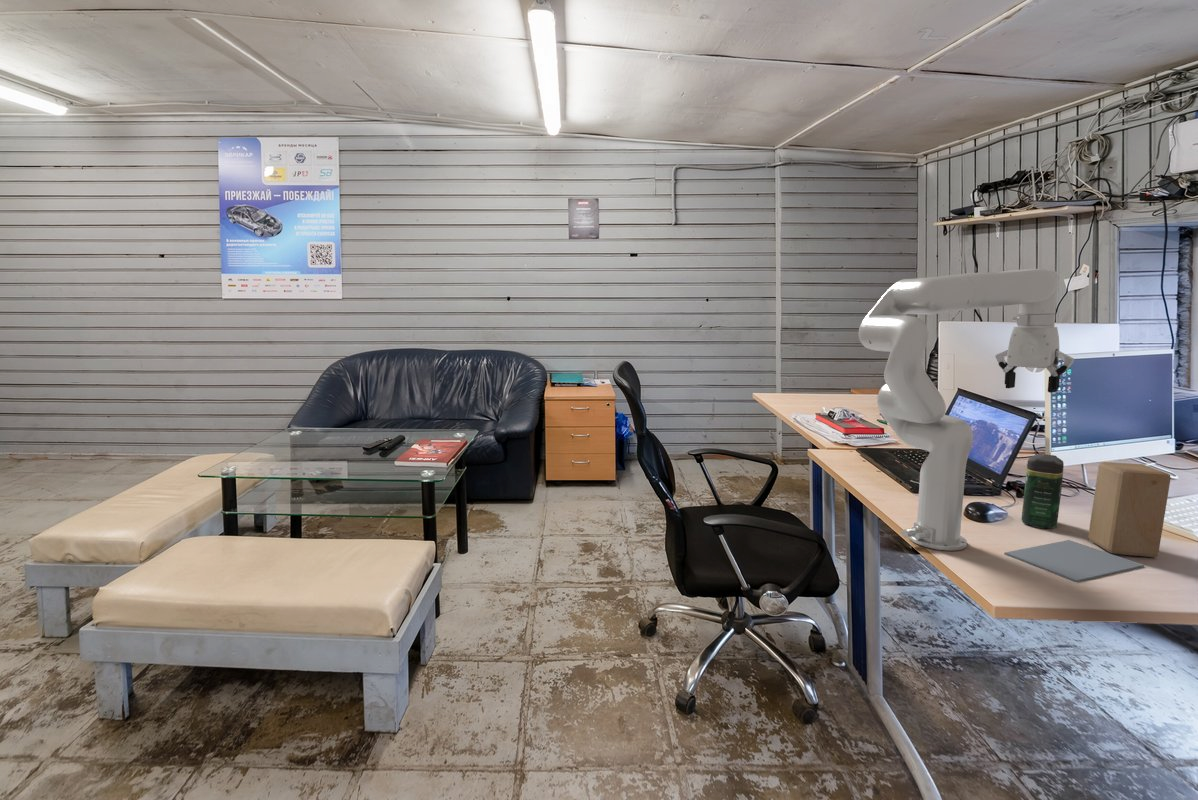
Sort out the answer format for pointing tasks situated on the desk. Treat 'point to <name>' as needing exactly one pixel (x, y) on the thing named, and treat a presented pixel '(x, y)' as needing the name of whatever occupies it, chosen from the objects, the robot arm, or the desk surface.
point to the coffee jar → (1042, 491)
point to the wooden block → (1129, 508)
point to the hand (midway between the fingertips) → (1030, 389)
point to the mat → (1073, 560)
